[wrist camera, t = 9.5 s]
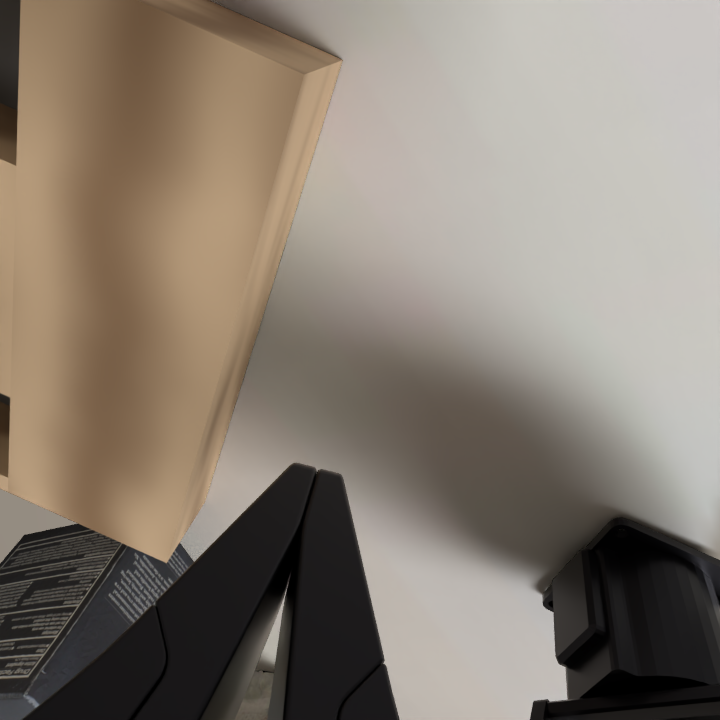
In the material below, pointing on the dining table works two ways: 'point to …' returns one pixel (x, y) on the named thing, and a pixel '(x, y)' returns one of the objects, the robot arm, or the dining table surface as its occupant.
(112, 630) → the small box
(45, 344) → the trap board
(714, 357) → the dining table surface
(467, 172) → the dining table surface
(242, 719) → the ceramic cottage
